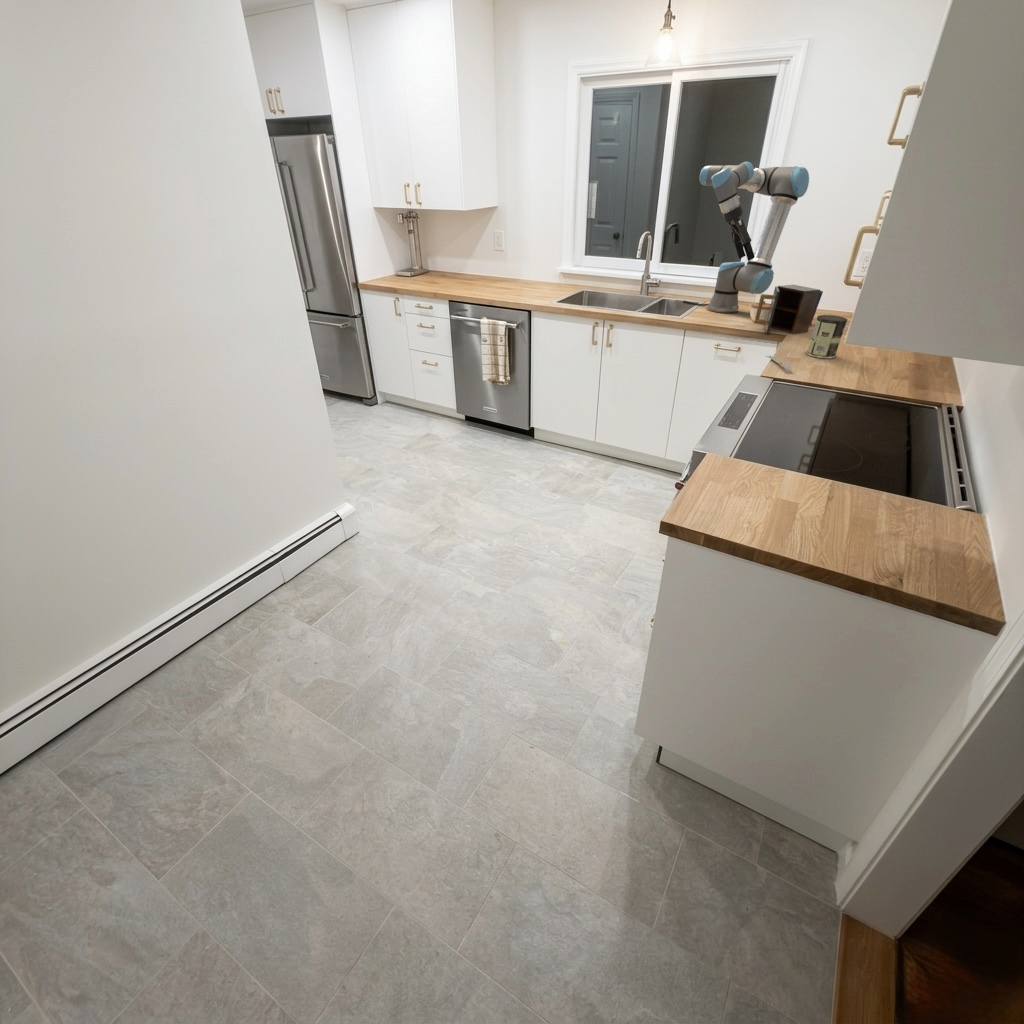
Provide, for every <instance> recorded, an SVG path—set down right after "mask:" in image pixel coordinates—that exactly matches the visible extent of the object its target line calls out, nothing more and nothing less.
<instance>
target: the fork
mask: <svg viewBox="0 0 1024 1024" xmlns="http://www.w3.org/2000/svg"><path fill="white" fill-rule="evenodd" d="M765 357H767V358H768V359H770V360H772V361H774V362H775V363H777V364H778V365H782V366H783V367H784V370H785V371H786V373H789V374H792V373H793V370H792V367H791V364H790V363H789V362H780V361H779V360H778V359H777V358H775V356H773V355H765Z"/></svg>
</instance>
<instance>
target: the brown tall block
mask: <svg viewBox="0 0 1024 1024" xmlns="http://www.w3.org/2000/svg"><path fill="white" fill-rule="evenodd" d="M823 293H824V291H823V290H820V293H819V296H818V299H817V303H816V306H815V309H814V313H813V316H812V319H811V323H810V326H811V325H812V323H813V321H814V317H815V315H816V312H817V309H818V307H819V304H820V301H821V299H822V296H823Z"/></svg>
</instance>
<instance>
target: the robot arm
mask: <svg viewBox="0 0 1024 1024" xmlns="http://www.w3.org/2000/svg"><path fill="white" fill-rule="evenodd" d="M699 183H700V185H702V186H704V187H705V186H706V187H712V188H713V189H714V193H715V195H716V196H715V197H716V198H717V203H718V206H719V208H720V211H721V214H722V217H723V220H724V223H726V224H728V227H729V232H730V237H731V242H732V243H733V245H734V247H735V250H736V254H737V256H738V259H739V260H740V259H742V258H744V257H746V258H747V262H745V261H729V262H723V263H721V264H720V265H719V268H718V271H717V277H716V283H715V287H714V292H713V295H712V297H711V299H710V301H709V303H697V302H692V301H688V300H683V301H682V302H683V303H685V304H689V305H694V306H699V307H707V310H708V311H710V312H714V313H722V314H734V313H735V314H736V313H738V312H739V308H740V306H739V293H740V292H743V293H748V294H751V295H761V294H764V293H765V292H766V291H768V289H769V288H770V286H771V284H772V283H773V280H774V275H775V272H774V270H773V264H772V260H773V256H774V255H775V251H776V248H777V247H778V243H779V241H780V238H781V235H782V232H783V230H784V227H785V225H786V222H787V219H788V217H789V214H790V212H791V208H792V206H794V205H796V204H797V202H798V200H799V198H802V197H804V196H805V194H806V193H807V191H808V188H809V183H810V174H809V170H808V169H807V168H806V167H804V166H798V165H796V166H771V167H761V168H760V167H759V168H758V167H755V168H754V165H753V163H751V162H750V161H744V162H741V163H739V164H738V165H735V164H734V165H728V164H727V165H712V164H710V165H706V166H704V167H702V168H701V170H700V173H699ZM737 189H741V190H742V189H743V190H747V191H748V192H749V193H754V194H759V195H763V196H767V197H770V201H771V205H770V208H769V211H768V214H767V216H766V219H765V222H764V225H763V228H762V230H761V233H760V236H759V239H758V241H757V244H756V247H755V250H754V249H753V246H752V244H751V243H752V238H751V236H750V234H749V232H748V229H747V227H746V226H745V223H744V219H743V218H742V219H740V217H742V216H743V214H744V210H743V208H742V206H741V202H740V198H741V197H740V195H738V192H737V191H738V190H737Z"/></svg>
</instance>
